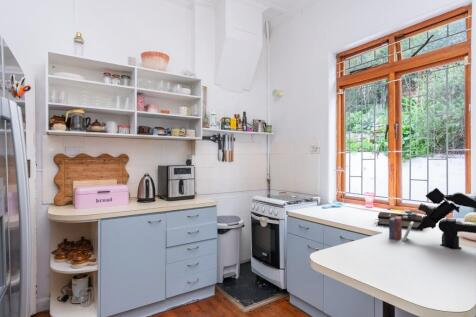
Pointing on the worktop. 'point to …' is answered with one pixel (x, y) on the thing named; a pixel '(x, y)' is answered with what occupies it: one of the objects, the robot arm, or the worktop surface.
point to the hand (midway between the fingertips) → (417, 229)
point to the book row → (395, 228)
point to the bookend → (408, 231)
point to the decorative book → (406, 219)
